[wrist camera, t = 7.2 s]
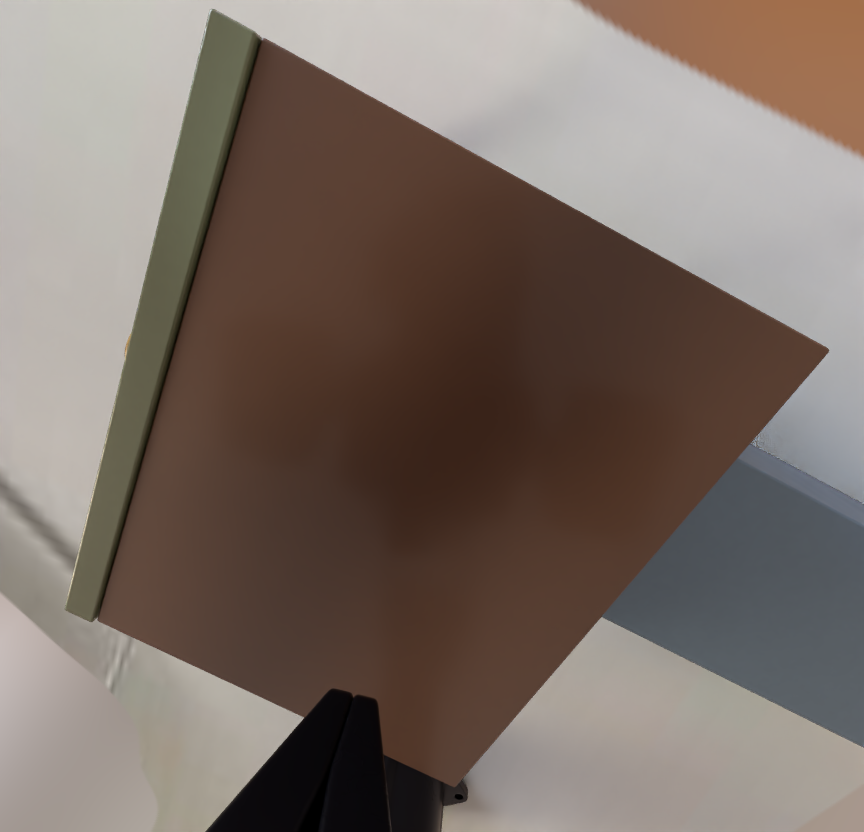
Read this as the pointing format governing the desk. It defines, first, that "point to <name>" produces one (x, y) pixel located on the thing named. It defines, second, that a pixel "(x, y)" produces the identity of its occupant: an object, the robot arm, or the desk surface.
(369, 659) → the drawer unit
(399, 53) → the desk surface
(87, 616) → the drawer
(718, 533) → the storage box
